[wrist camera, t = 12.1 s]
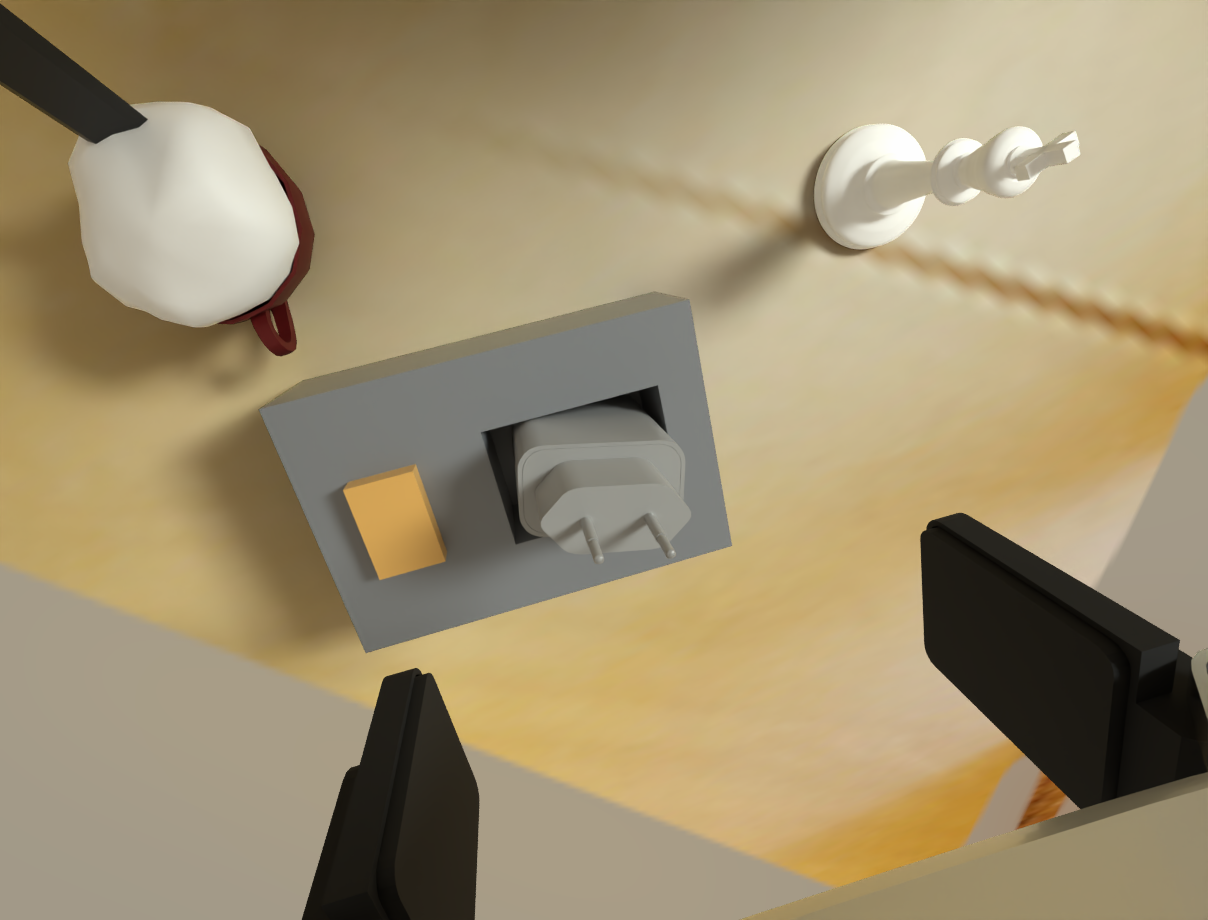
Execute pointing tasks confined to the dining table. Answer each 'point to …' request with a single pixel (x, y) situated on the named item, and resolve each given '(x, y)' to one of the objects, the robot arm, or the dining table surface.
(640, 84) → the dining table surface
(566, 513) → the power adapter
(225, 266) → the cocoa
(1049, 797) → the dining table surface
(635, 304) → the socket block
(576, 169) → the dining table surface
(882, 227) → the chess piece
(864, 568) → the dining table surface
